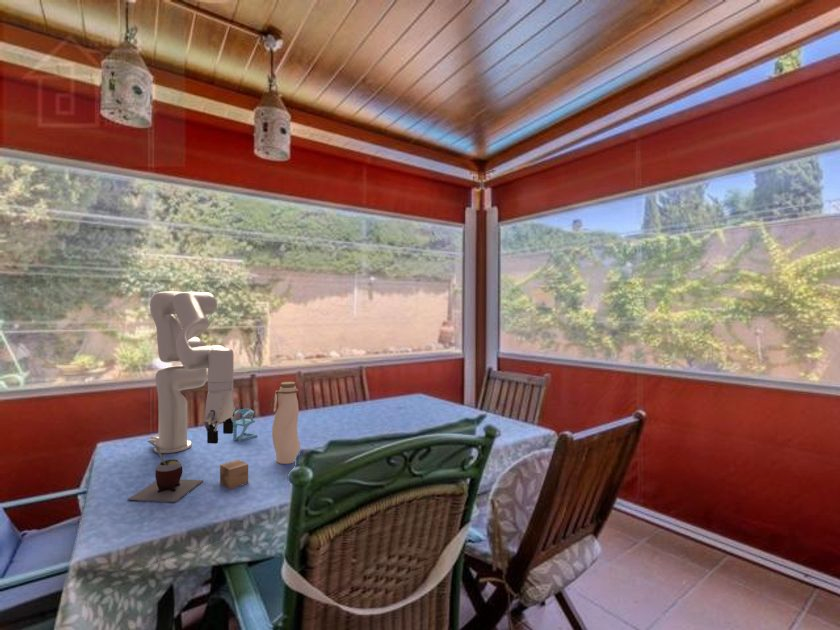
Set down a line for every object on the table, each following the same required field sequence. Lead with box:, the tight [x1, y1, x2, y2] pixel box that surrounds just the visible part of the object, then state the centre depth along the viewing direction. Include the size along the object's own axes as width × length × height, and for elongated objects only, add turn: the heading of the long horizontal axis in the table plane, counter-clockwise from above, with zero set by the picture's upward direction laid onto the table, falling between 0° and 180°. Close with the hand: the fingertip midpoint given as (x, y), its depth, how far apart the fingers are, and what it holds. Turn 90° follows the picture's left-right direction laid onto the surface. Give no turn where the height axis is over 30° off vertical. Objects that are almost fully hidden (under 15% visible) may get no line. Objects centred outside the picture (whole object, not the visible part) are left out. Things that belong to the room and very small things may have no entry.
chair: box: [232, 407, 258, 442], centre depth 176 cm, size 8×8×12 cm
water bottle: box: [270, 381, 301, 465], centre depth 152 cm, size 10×9×28 cm
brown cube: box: [219, 459, 249, 490], centre depth 133 cm, size 6×6×6 cm
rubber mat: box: [127, 478, 204, 503], centre depth 127 cm, size 14×14×1 cm
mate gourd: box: [147, 440, 184, 493], centre depth 127 cm, size 8×8×15 cm
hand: (220, 438), depth 138 cm, fingers open, 9 cm apart
